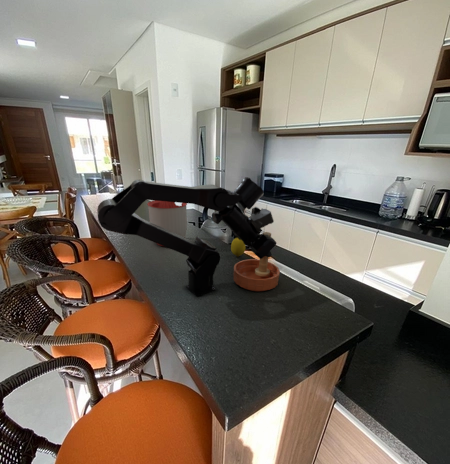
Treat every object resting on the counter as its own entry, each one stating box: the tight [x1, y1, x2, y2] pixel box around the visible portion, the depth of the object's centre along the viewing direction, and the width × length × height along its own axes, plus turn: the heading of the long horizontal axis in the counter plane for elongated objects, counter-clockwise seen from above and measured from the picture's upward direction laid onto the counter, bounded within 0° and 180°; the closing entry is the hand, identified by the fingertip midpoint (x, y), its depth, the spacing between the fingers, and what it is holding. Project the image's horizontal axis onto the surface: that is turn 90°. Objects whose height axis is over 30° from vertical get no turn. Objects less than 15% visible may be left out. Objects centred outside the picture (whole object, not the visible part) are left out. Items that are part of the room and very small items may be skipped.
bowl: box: [232, 258, 281, 292], centre depth 78 cm, size 14×14×4 cm
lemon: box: [230, 237, 246, 258], centre depth 95 cm, size 6×6×8 cm
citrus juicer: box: [147, 200, 188, 248], centre depth 104 cm, size 16×17×20 cm
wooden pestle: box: [255, 231, 272, 277], centre depth 77 cm, size 5×5×14 cm
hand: (268, 254), depth 78 cm, fingers closed on wooden pestle, 2 cm apart
